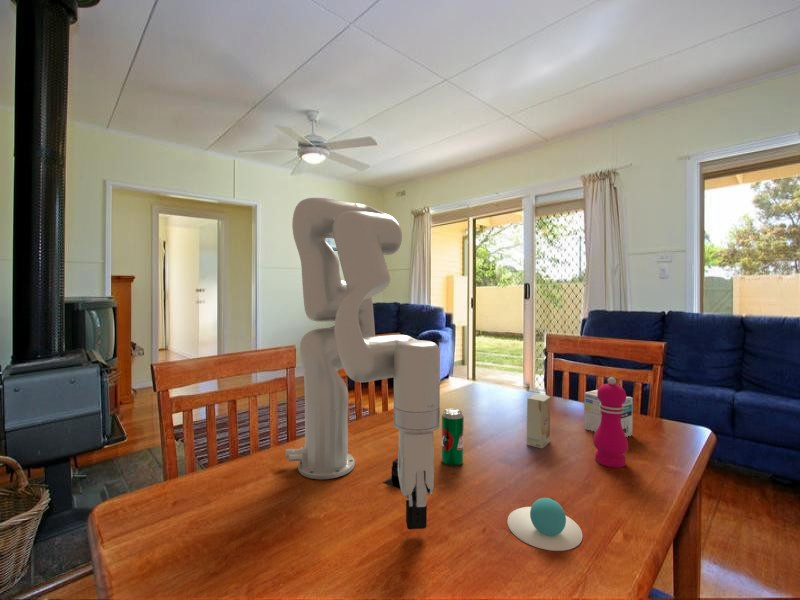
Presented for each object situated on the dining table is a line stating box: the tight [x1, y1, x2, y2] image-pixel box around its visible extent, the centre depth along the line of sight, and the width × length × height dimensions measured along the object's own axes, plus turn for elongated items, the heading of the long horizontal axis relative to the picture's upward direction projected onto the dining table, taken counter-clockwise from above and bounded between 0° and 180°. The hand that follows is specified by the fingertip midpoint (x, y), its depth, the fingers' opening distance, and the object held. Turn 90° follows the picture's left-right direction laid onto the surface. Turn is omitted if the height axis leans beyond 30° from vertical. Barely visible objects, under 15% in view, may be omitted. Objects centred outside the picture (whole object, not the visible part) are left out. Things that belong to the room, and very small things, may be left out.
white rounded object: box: [506, 506, 583, 552], centre depth 68 cm, size 12×12×1 cm
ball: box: [530, 497, 567, 536], centre depth 66 cm, size 6×6×6 cm
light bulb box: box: [583, 389, 634, 438], centre depth 112 cm, size 11×7×11 cm, turn 34°
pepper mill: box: [592, 376, 629, 469], centre depth 93 cm, size 7×7×20 cm
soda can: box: [441, 408, 465, 467], centre depth 92 cm, size 5×5×12 cm
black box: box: [382, 457, 401, 490], centre depth 85 cm, size 12×7×5 cm, turn 147°
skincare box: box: [526, 393, 552, 449], centre depth 104 cm, size 6×4×12 cm
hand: (416, 525), depth 66 cm, fingers closed
